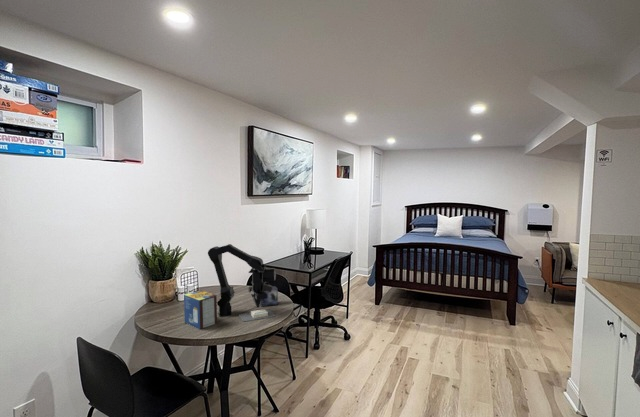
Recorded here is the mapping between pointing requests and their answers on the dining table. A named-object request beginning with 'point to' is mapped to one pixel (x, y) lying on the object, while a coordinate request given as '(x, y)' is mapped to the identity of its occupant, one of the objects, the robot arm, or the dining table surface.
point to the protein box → (200, 309)
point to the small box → (270, 297)
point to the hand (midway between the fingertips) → (257, 307)
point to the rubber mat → (248, 317)
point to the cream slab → (259, 313)
